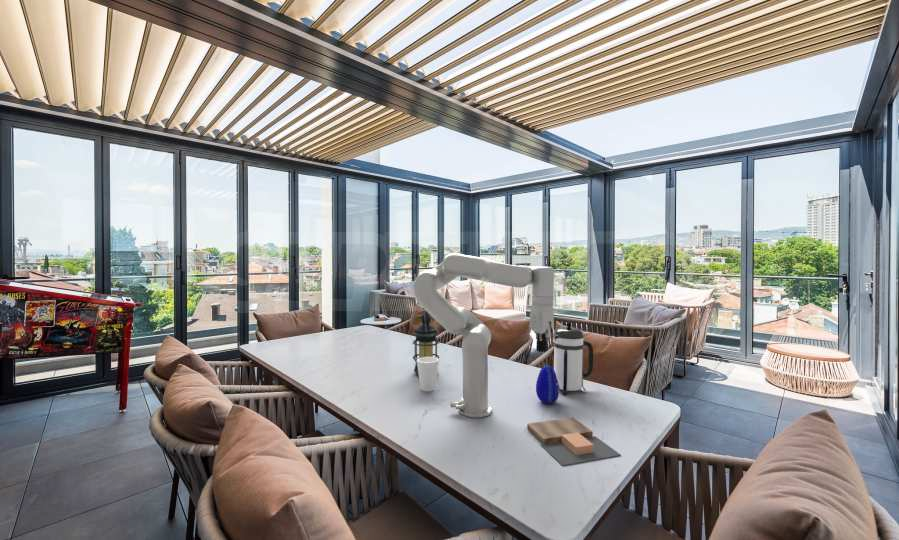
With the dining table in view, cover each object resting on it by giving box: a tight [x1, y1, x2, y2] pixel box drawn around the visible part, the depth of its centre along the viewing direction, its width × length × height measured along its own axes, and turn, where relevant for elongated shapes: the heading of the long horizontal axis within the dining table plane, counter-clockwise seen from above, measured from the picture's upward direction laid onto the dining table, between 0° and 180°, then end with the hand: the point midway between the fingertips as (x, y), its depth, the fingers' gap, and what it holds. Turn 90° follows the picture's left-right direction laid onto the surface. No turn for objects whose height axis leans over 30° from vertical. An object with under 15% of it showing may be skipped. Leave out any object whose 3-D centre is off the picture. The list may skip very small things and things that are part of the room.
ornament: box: [535, 365, 561, 405], centre depth 156 cm, size 11×9×15 cm
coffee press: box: [552, 321, 594, 396], centre depth 170 cm, size 17×16×30 cm
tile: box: [561, 433, 594, 455], centre depth 120 cm, size 6×8×2 cm
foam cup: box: [417, 356, 440, 392], centre depth 170 cm, size 10×9×13 cm
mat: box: [540, 435, 621, 467], centre depth 119 cm, size 20×12×1 cm, turn 106°
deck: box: [526, 417, 594, 445], centre depth 130 cm, size 18×11×2 cm, turn 106°
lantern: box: [412, 307, 440, 375], centre depth 191 cm, size 14×13×35 cm
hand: (541, 350), depth 140 cm, fingers closed
